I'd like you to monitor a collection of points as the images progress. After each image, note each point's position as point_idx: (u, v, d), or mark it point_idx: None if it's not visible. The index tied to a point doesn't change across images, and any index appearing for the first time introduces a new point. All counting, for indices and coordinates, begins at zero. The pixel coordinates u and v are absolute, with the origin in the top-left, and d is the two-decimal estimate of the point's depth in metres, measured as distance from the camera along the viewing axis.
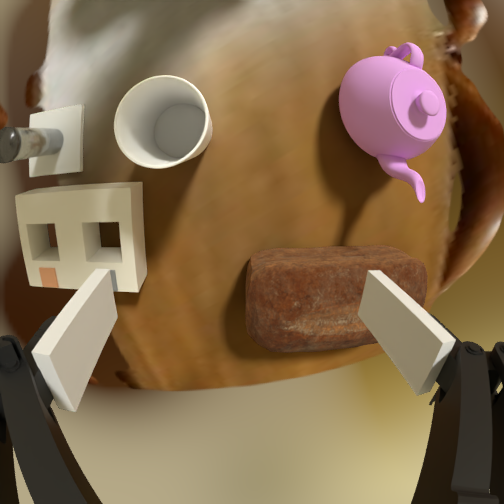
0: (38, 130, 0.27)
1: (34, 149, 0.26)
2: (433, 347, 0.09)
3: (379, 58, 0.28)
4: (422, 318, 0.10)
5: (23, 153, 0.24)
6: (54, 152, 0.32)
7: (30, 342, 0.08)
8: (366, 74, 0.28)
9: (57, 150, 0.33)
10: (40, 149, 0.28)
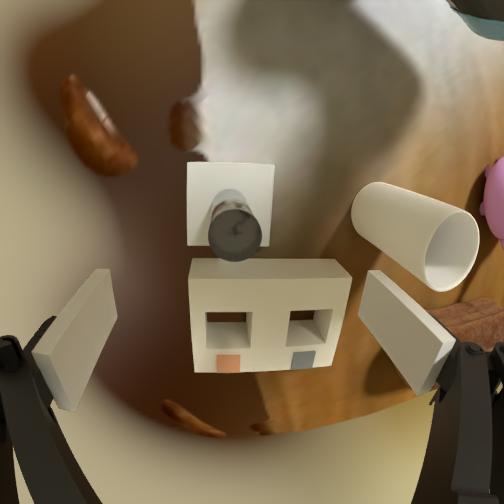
0: (246, 204, 0.28)
1: None
2: (433, 347, 0.09)
3: None
4: (422, 318, 0.10)
5: None
6: None
7: (30, 342, 0.08)
8: None
9: None
10: None
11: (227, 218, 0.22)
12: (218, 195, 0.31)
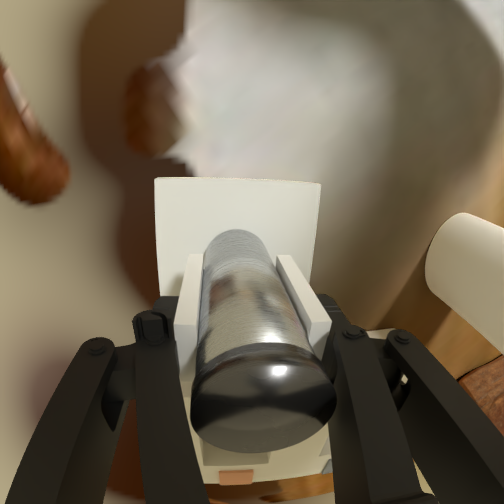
0: (279, 282, 0.12)
1: None
2: (307, 327, 0.10)
3: None
4: (304, 298, 0.11)
5: None
6: None
7: None
8: None
9: None
10: None
11: (244, 386, 0.07)
12: (215, 247, 0.16)
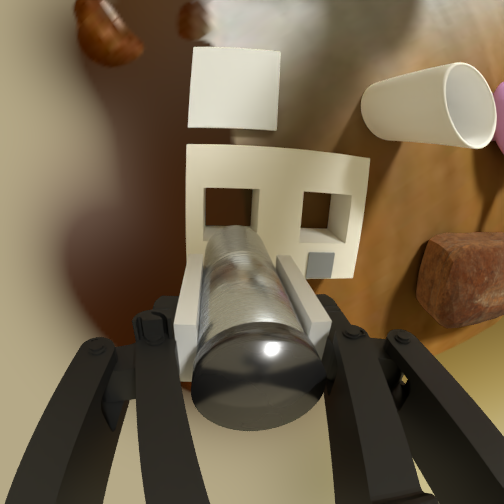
0: (274, 273, 0.13)
1: None
2: (307, 327, 0.10)
3: None
4: (304, 298, 0.11)
5: None
6: None
7: None
8: None
9: None
10: None
11: (241, 361, 0.08)
12: (215, 241, 0.17)
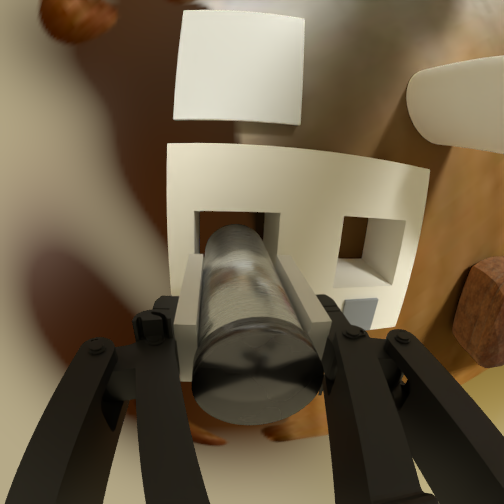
0: (273, 270, 0.14)
1: None
2: (307, 327, 0.10)
3: None
4: (304, 298, 0.11)
5: None
6: None
7: None
8: None
9: None
10: None
11: (240, 354, 0.08)
12: (215, 240, 0.17)
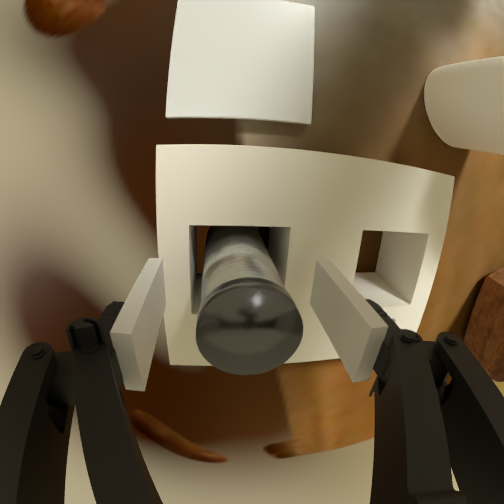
0: (264, 250, 0.16)
1: None
2: (364, 332, 0.10)
3: None
4: (356, 304, 0.11)
5: None
6: None
7: None
8: None
9: None
10: None
11: (234, 305, 0.10)
12: (215, 227, 0.20)
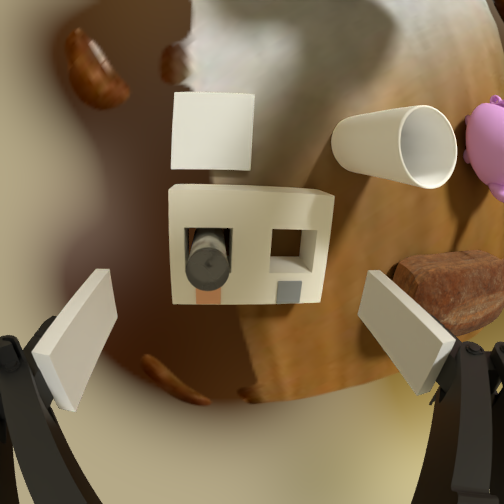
0: (220, 239, 0.33)
1: None
2: (433, 347, 0.09)
3: (497, 108, 0.29)
4: (422, 318, 0.10)
5: None
6: None
7: (30, 342, 0.08)
8: (493, 122, 0.29)
9: None
10: None
11: (200, 257, 0.27)
12: (198, 229, 0.37)
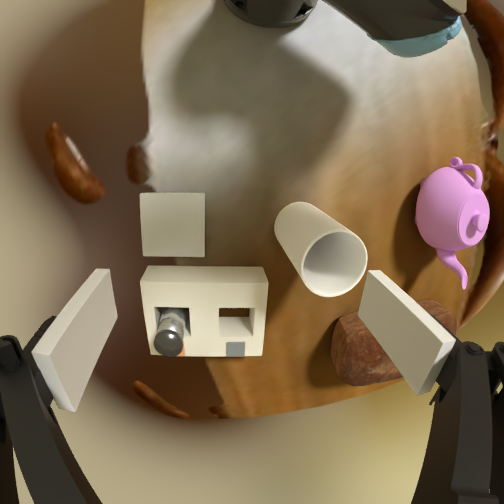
0: (180, 315, 0.43)
1: None
2: (433, 347, 0.09)
3: (451, 177, 0.39)
4: (422, 318, 0.10)
5: None
6: None
7: (30, 342, 0.08)
8: (443, 195, 0.39)
9: None
10: None
11: (162, 337, 0.37)
12: None
